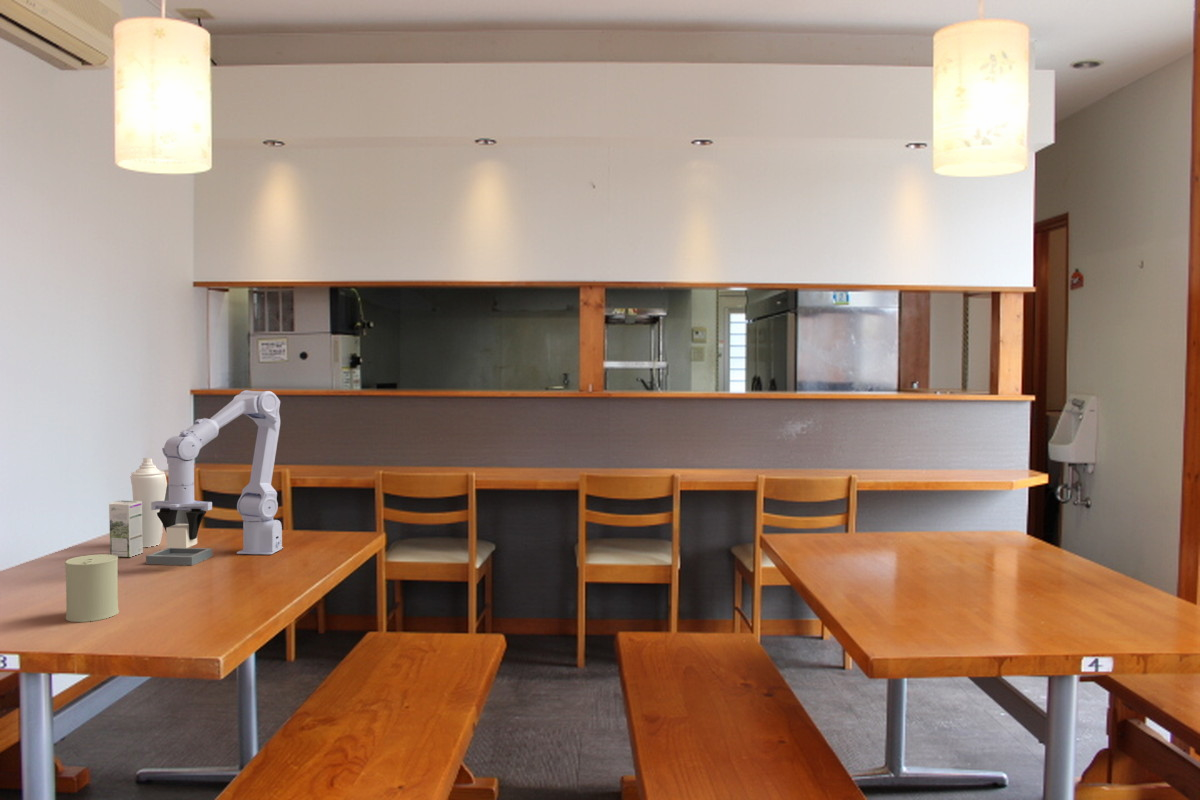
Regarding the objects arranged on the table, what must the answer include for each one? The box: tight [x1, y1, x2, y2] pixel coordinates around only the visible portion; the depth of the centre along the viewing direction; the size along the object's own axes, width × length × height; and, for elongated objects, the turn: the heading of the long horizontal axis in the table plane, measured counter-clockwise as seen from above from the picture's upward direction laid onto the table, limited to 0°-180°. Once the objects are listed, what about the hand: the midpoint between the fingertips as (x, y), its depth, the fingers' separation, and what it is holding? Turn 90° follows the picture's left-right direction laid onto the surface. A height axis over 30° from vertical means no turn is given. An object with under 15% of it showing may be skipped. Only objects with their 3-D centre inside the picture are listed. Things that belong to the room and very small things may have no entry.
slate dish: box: [145, 547, 213, 566], centre depth 214 cm, size 12×10×2 cm
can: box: [64, 553, 120, 623], centre depth 167 cm, size 9×9×12 cm
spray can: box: [129, 457, 168, 548], centre depth 231 cm, size 12×11×25 cm
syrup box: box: [108, 499, 144, 558], centre depth 219 cm, size 6×6×14 cm
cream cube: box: [165, 523, 198, 548], centre depth 205 cm, size 5×5×5 cm
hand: (182, 538), depth 205 cm, fingers closed on cream cube, 5 cm apart
